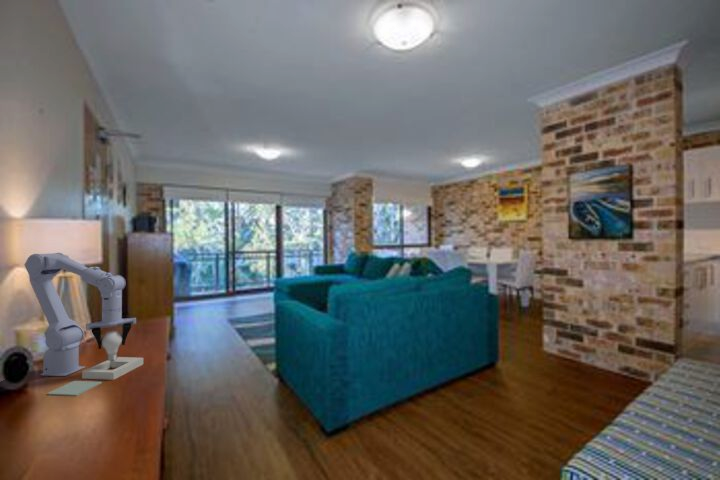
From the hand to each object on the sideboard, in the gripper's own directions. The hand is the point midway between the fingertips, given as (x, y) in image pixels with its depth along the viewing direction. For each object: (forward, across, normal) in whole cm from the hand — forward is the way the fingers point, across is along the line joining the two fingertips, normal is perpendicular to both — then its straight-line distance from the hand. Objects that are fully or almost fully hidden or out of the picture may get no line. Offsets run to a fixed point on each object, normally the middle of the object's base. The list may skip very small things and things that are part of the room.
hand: (111, 346), depth 118 cm
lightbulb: (+6, 0, 0) cm, 6 cm away
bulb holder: (+10, +1, +1) cm, 10 cm away
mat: (+10, -10, -8) cm, 16 cm away
